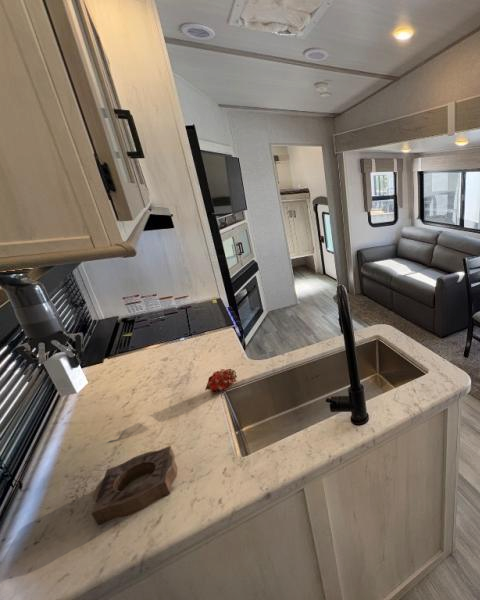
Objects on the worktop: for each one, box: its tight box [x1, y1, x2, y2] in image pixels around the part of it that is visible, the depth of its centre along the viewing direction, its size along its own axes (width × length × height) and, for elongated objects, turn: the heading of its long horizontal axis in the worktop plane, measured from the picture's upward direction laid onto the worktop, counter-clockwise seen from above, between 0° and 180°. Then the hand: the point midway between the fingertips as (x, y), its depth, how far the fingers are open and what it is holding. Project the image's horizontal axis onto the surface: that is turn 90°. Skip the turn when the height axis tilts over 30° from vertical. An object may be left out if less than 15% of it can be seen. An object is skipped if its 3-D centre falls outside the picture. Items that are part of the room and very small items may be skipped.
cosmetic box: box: [43, 351, 89, 397], centre depth 93 cm, size 6×4×12 cm
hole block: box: [90, 445, 178, 526], centre depth 80 cm, size 16×16×4 cm
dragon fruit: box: [204, 368, 238, 394], centre depth 118 cm, size 8×8×12 cm
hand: (64, 369), depth 93 cm, fingers closed on cosmetic box, 4 cm apart
